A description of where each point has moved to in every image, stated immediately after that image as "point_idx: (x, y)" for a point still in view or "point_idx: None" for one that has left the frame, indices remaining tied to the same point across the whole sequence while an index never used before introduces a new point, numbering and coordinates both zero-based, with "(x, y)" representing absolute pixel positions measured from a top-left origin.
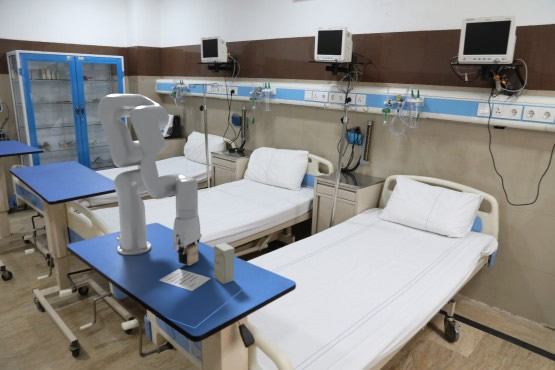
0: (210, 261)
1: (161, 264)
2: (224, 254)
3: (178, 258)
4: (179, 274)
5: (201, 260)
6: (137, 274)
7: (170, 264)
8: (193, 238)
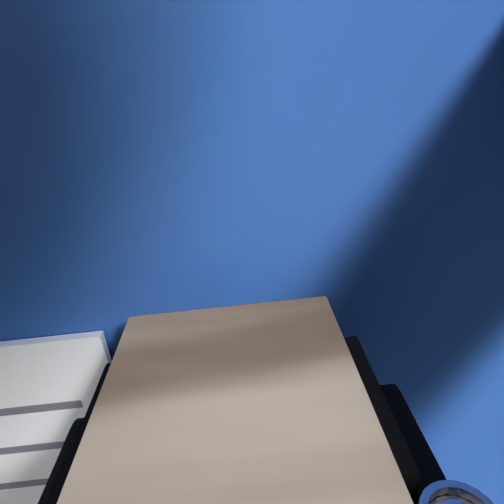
0: (447, 419)
1: (14, 25)
2: None
3: (112, 361)
4: (24, 422)
5: (427, 347)
6: None
7: (117, 143)
8: None
